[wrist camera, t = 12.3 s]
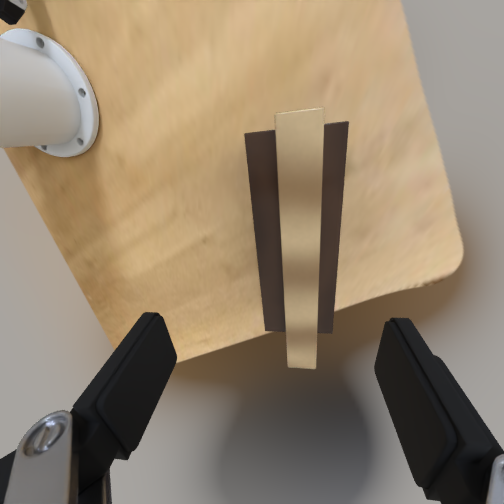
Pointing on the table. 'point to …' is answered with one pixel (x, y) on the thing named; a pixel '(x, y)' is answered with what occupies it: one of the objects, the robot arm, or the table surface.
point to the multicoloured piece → (12, 10)
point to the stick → (300, 226)
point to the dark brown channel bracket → (268, 222)
